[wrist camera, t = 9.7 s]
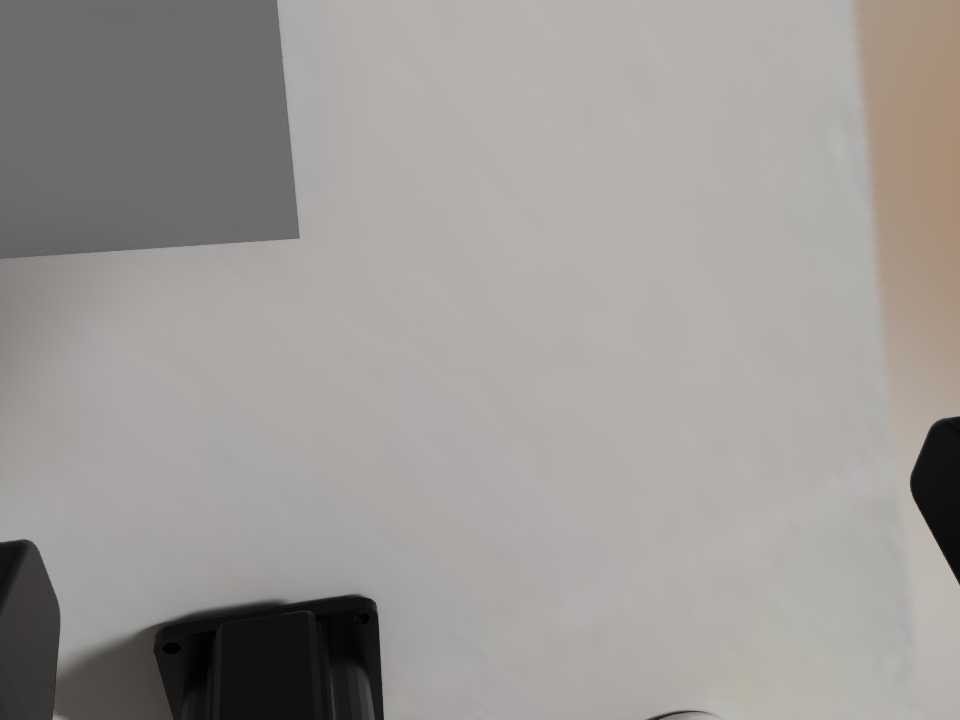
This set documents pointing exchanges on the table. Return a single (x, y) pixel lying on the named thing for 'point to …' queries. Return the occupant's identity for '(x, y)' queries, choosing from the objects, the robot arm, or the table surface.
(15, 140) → the plate
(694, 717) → the supplement bottle
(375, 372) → the table surface
